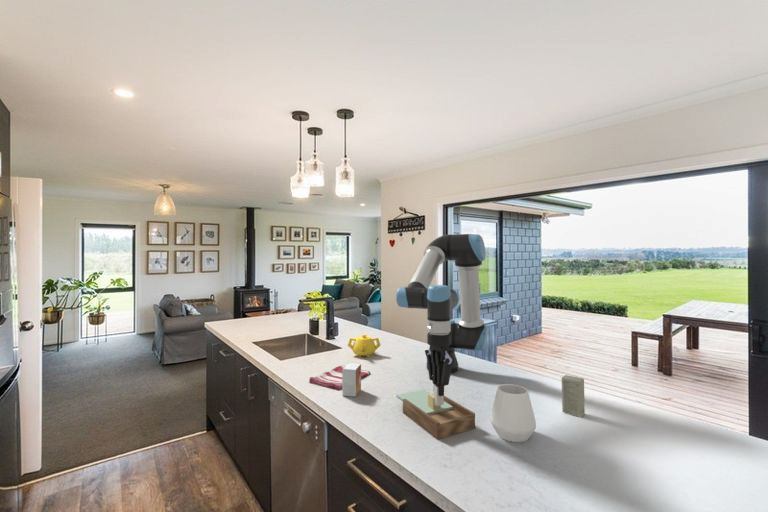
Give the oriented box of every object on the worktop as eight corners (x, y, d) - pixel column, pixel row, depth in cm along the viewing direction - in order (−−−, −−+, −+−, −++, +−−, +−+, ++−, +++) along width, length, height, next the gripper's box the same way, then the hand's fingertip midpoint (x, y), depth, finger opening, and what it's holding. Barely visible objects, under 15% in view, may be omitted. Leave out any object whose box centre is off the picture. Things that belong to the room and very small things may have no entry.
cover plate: (423, 391, 137) (423, 378, 137) (452, 408, 121) (453, 394, 121) (396, 396, 131) (396, 383, 131) (423, 416, 115) (423, 401, 115)
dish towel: (307, 383, 154) (307, 377, 154) (342, 369, 174) (342, 363, 174) (338, 391, 145) (338, 385, 145) (371, 375, 165) (371, 369, 165)
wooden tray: (437, 404, 131) (437, 391, 131) (475, 428, 114) (475, 413, 114) (402, 413, 125) (402, 399, 125) (437, 439, 107) (437, 423, 107)
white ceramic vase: (531, 451, 101) (532, 401, 101) (484, 437, 108) (484, 391, 108) (539, 430, 112) (539, 386, 112) (496, 420, 119) (496, 378, 119)
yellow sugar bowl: (380, 360, 186) (380, 339, 185) (345, 360, 186) (345, 339, 186) (381, 350, 205) (381, 330, 205) (349, 350, 206) (349, 330, 206)
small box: (355, 397, 138) (355, 369, 138) (342, 396, 139) (341, 369, 139) (361, 389, 146) (361, 363, 146) (348, 388, 147) (348, 362, 147)
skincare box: (585, 413, 124) (585, 378, 124) (581, 418, 121) (581, 381, 121) (565, 408, 128) (565, 374, 128) (561, 412, 125) (561, 377, 125)
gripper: (418, 330, 122) (418, 399, 122) (441, 337, 111) (441, 414, 111) (436, 327, 126) (436, 395, 126) (460, 335, 114) (460, 409, 114)
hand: (438, 404), depth 118 cm, fingers closed
